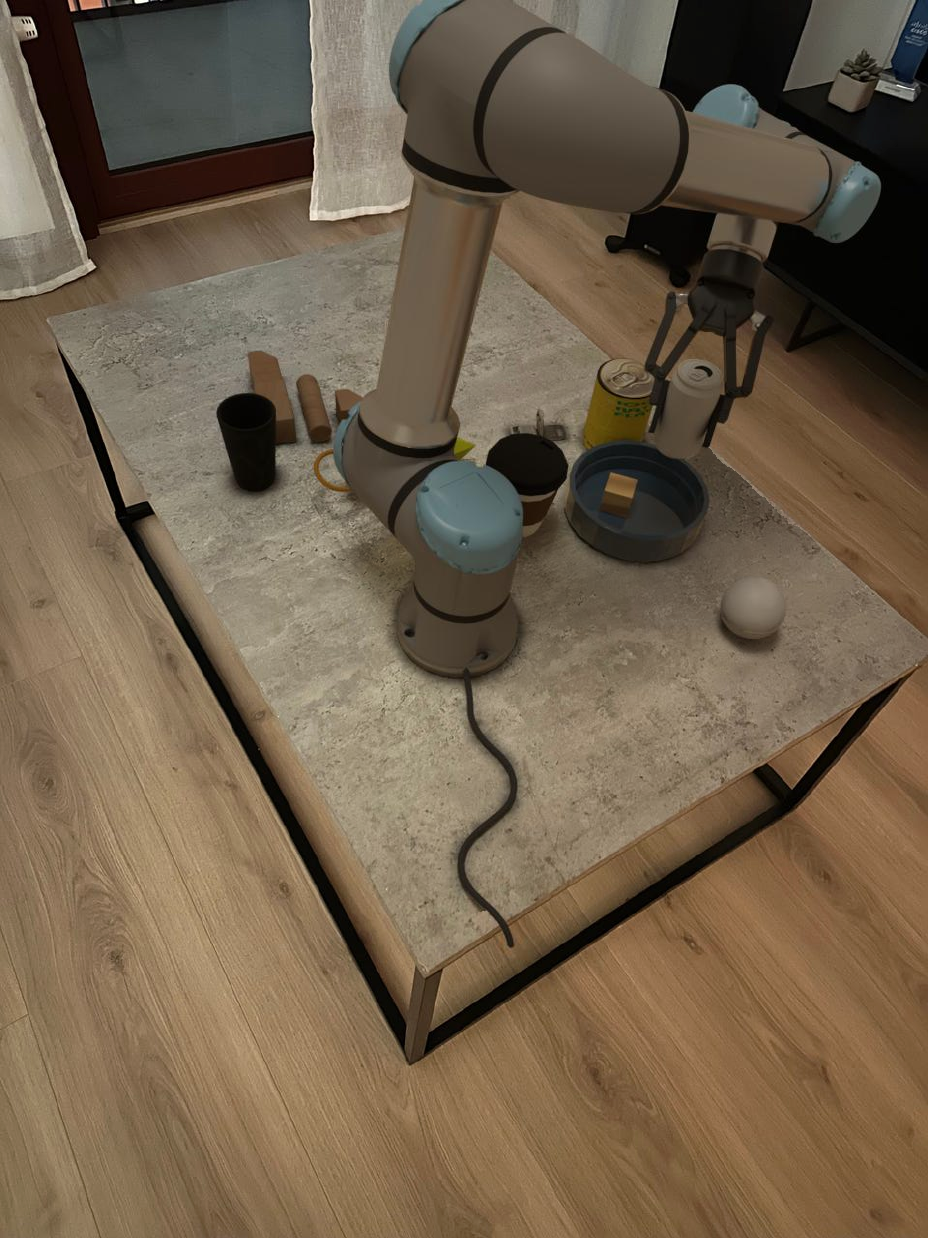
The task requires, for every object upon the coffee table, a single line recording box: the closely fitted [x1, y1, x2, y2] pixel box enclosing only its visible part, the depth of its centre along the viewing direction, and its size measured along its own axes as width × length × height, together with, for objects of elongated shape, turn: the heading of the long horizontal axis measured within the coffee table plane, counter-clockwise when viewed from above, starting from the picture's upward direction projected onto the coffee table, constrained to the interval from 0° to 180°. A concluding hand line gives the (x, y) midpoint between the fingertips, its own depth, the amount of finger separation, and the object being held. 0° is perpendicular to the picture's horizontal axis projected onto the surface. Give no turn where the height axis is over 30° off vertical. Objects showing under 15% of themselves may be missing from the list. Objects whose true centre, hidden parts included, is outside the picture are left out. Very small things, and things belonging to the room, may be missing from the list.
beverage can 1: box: [581, 357, 655, 451], centre depth 134 cm, size 9×9×12 cm
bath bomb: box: [720, 576, 787, 640], centre depth 115 cm, size 8×8×8 cm
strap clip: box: [509, 408, 567, 441], centre depth 136 cm, size 8×3×4 cm, turn 100°
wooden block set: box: [247, 350, 364, 445], centre depth 136 cm, size 17×6×18 cm
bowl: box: [563, 440, 711, 563], centre depth 127 cm, size 20×20×5 cm
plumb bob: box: [313, 436, 477, 493], centre depth 126 cm, size 9×9×25 cm
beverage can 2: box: [652, 358, 724, 459], centre depth 115 cm, size 6×6×12 cm
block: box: [599, 473, 638, 518], centre depth 127 cm, size 4×4×4 cm
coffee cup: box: [485, 433, 570, 538], centre depth 121 cm, size 11×11×12 cm
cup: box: [215, 392, 277, 493], centre depth 123 cm, size 8×8×12 cm
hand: (678, 438), depth 115 cm, fingers closed on beverage can 2, 6 cm apart
